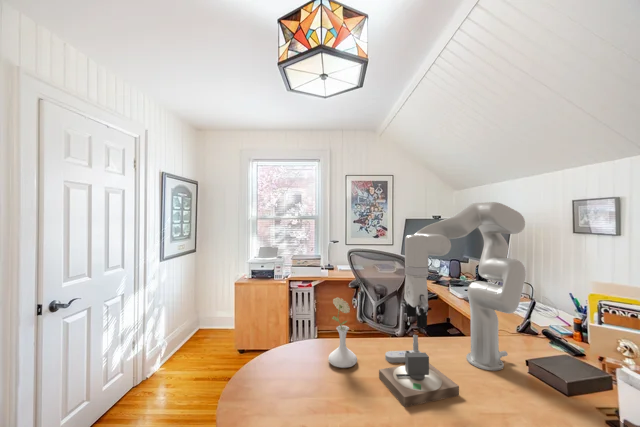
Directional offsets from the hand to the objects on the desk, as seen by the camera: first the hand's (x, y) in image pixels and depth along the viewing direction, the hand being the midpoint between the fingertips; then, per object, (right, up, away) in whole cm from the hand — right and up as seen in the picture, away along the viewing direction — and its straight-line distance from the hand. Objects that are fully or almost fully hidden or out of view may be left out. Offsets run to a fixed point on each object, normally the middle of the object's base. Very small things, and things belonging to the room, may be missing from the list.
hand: (416, 321), depth 95 cm
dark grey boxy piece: (-2, -18, 0) cm, 19 cm away
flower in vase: (-24, -22, +16) cm, 36 cm away
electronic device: (+1, -23, +18) cm, 29 cm away
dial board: (0, -22, 0) cm, 22 cm away
